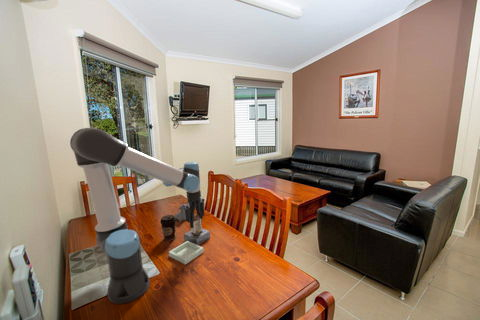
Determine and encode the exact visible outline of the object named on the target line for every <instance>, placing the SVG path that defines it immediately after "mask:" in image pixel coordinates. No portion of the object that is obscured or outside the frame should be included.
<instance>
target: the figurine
mask: <svg viewBox="0 0 480 320" xmlns="http://www.w3.org/2000/svg"><path fill="white" fill-rule="evenodd" d="M184 205H186V204H185V203H184V204H183V203H180V205H179V207H178V209H177V210H179V211H177V213H174V216H175V218H176V220H178V221H179V223H181V222H183V221H186V215H185V209H184Z"/></svg>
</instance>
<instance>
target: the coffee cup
mask: <svg viewBox="0 0 480 320" xmlns="http://www.w3.org/2000/svg"><path fill="white" fill-rule="evenodd" d="M176 220H177V219H176V218H175V214H167V215H164V216H161V218H160V222H159V223H160V225H161V230H162V235H163V240H164V241H168V242H169V241H174V240H175V239H176V234H175V233H176V231H177V224H176Z"/></svg>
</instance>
